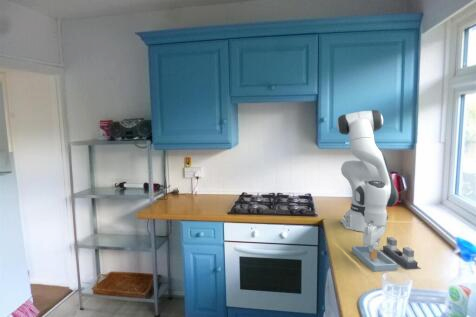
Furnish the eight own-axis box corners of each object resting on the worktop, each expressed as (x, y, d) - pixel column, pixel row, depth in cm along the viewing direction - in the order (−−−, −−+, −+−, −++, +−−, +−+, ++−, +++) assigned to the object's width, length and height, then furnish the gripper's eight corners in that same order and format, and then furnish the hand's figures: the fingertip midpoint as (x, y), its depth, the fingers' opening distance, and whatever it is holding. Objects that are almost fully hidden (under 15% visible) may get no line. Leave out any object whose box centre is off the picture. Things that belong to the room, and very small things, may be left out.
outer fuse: (401, 263, 140) (402, 247, 139) (407, 262, 140) (408, 247, 139) (407, 267, 136) (408, 251, 135) (413, 266, 136) (414, 250, 135)
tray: (351, 253, 152) (352, 246, 152) (372, 252, 153) (372, 245, 153) (374, 273, 132) (374, 265, 132) (397, 272, 133) (397, 264, 133)
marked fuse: (369, 255, 145) (370, 240, 144) (374, 255, 144) (376, 240, 143) (370, 258, 141) (372, 243, 140) (376, 259, 140) (378, 243, 139)
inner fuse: (386, 251, 152) (387, 237, 151) (391, 251, 152) (391, 237, 151) (391, 255, 148) (392, 240, 147) (396, 255, 148) (396, 240, 147)
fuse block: (379, 252, 153) (379, 245, 153) (393, 251, 154) (393, 244, 154) (405, 272, 134) (405, 263, 133) (421, 271, 134) (421, 263, 134)
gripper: (375, 226, 130) (373, 259, 132) (389, 214, 146) (388, 244, 148) (359, 223, 134) (358, 255, 136) (375, 212, 150) (373, 240, 152)
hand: (373, 249), depth 142 cm, fingers closed on marked fuse, 5 cm apart
